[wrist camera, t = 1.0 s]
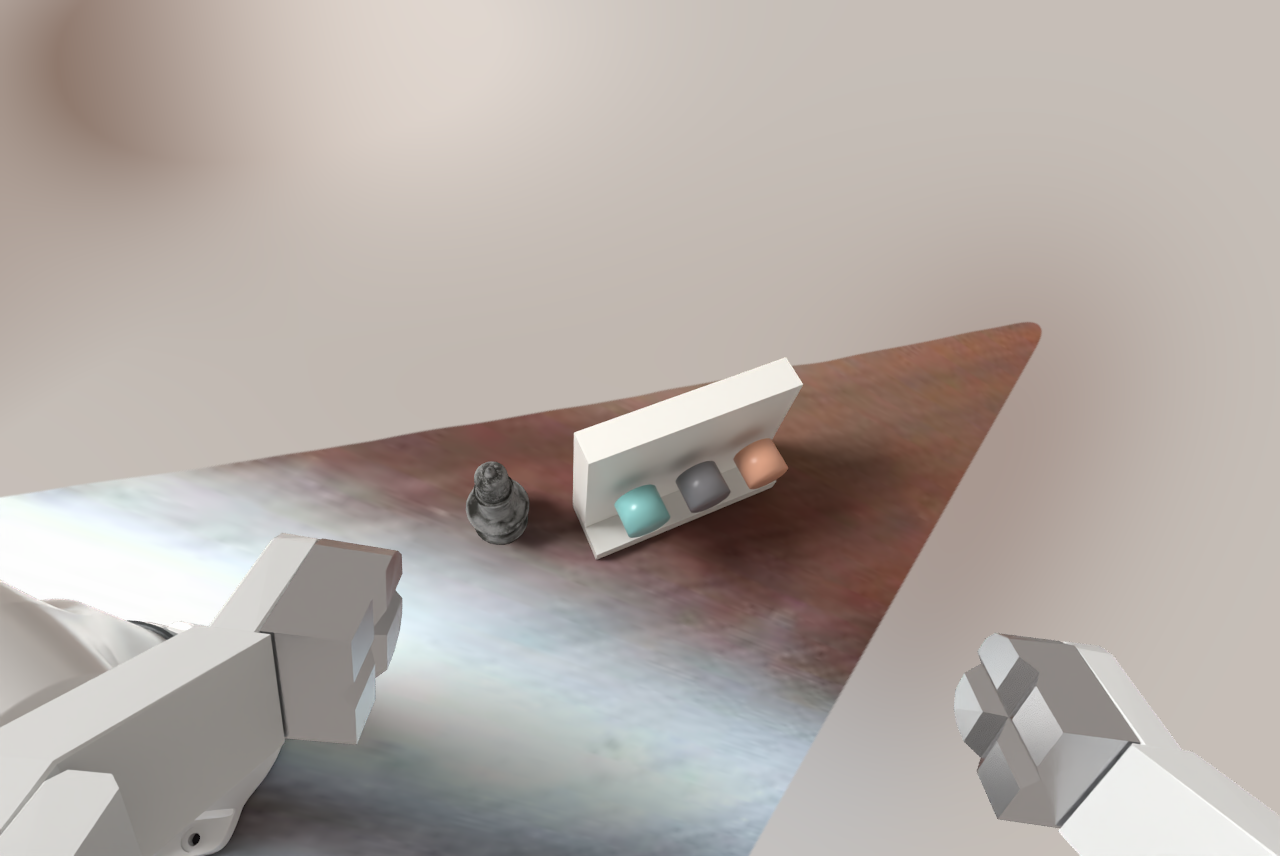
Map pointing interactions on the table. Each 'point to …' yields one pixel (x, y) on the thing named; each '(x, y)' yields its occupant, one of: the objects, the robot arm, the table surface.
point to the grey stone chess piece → (497, 505)
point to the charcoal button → (702, 486)
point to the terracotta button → (760, 463)
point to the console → (676, 449)
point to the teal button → (642, 510)
